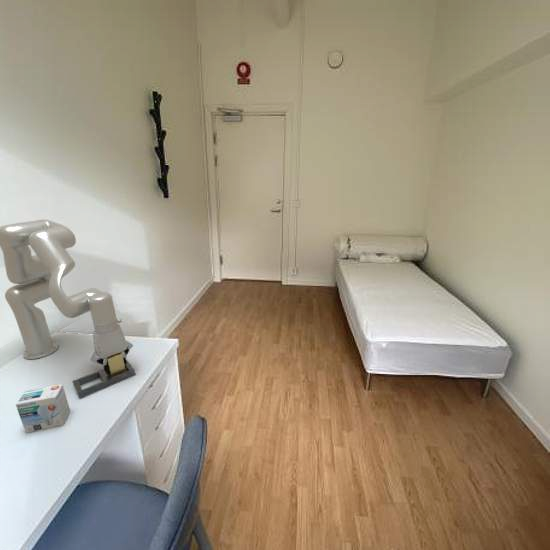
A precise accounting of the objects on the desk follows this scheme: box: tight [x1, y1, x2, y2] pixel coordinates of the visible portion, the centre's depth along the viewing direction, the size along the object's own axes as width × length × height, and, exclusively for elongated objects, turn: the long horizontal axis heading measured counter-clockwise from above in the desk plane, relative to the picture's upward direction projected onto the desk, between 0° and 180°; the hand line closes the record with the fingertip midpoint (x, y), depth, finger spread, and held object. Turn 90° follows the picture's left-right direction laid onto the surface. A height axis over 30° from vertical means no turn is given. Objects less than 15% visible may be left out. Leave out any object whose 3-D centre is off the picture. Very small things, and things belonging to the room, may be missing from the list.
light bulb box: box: [15, 383, 71, 434], centre depth 99 cm, size 11×7×11 cm, turn 105°
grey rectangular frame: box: [72, 359, 136, 400], centre depth 119 cm, size 9×19×2 cm, turn 131°
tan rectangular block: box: [107, 353, 127, 378], centre depth 120 cm, size 5×5×8 cm
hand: (116, 368), depth 121 cm, fingers closed on tan rectangular block, 5 cm apart
